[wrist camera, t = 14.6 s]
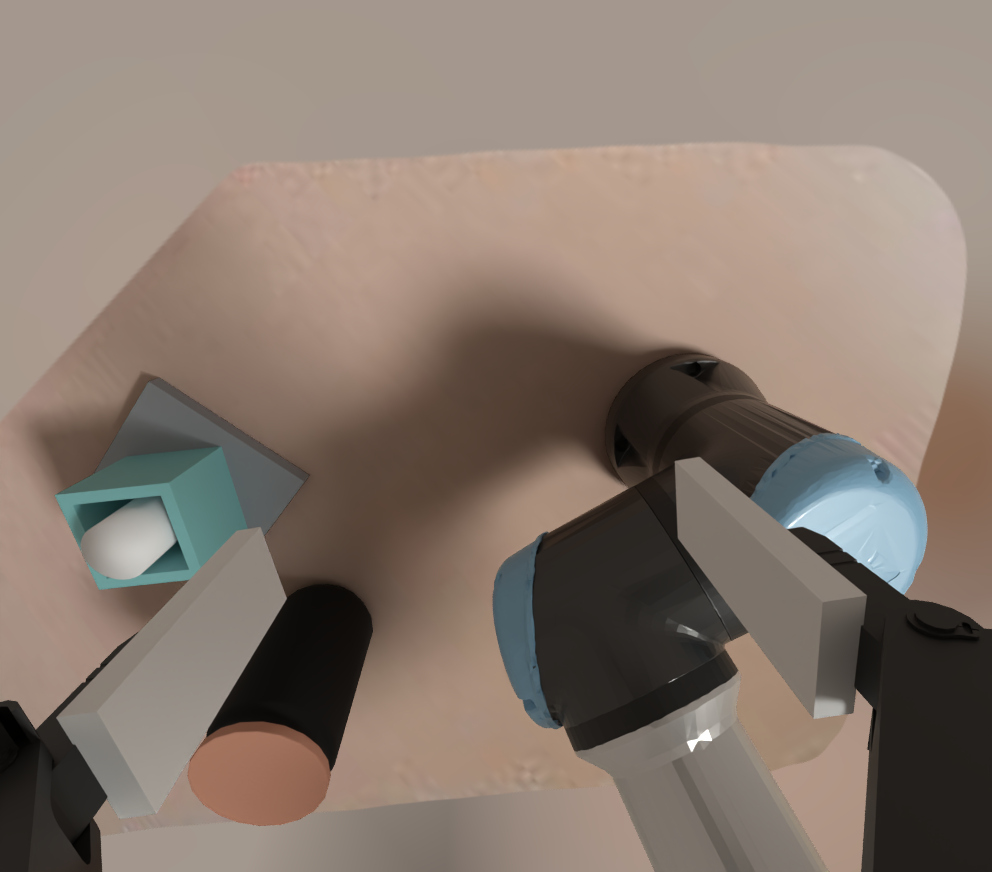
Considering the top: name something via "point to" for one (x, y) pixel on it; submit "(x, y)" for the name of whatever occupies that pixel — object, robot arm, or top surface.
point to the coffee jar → (286, 712)
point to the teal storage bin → (187, 498)
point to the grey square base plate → (144, 521)
